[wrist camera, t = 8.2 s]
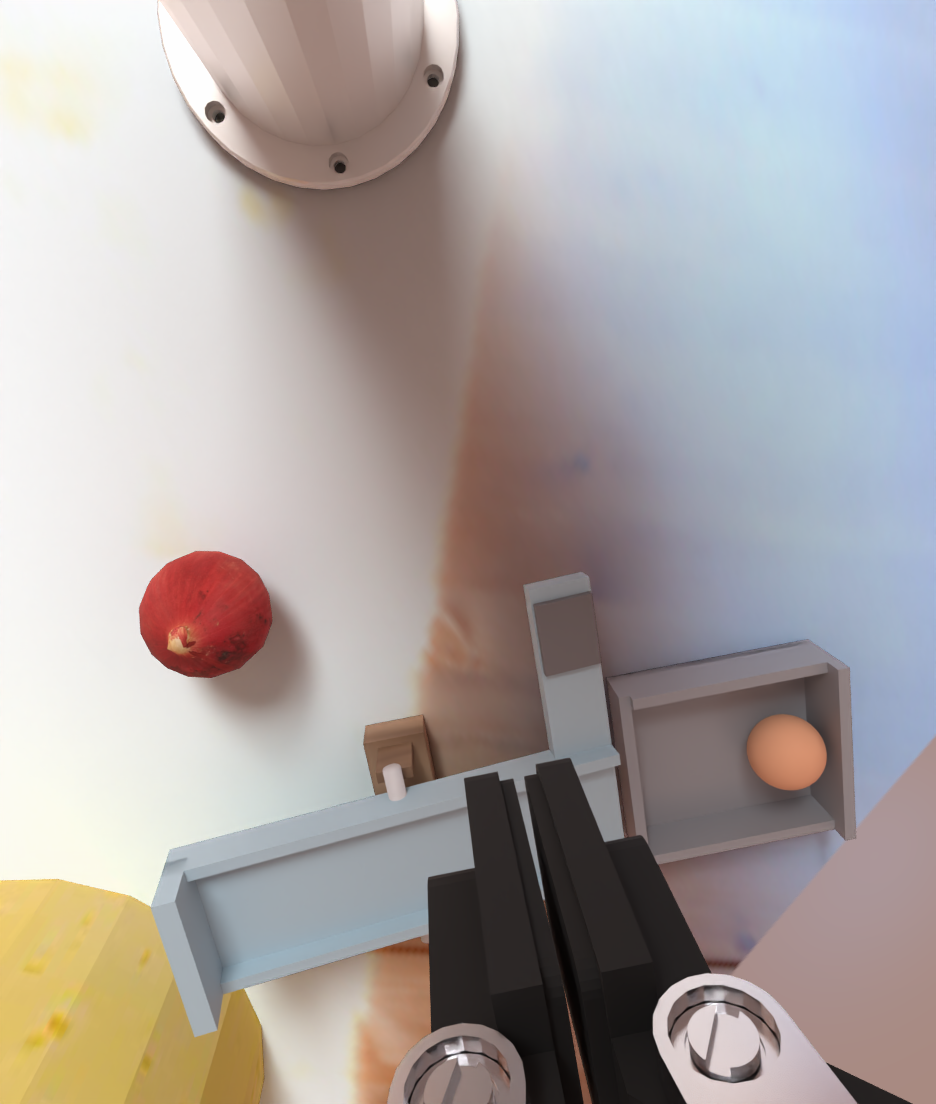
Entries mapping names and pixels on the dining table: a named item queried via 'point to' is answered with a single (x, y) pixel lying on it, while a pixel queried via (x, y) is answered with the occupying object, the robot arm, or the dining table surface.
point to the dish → (729, 750)
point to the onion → (205, 614)
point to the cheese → (108, 1008)
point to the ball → (786, 752)
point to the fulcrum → (399, 751)
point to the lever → (375, 841)
